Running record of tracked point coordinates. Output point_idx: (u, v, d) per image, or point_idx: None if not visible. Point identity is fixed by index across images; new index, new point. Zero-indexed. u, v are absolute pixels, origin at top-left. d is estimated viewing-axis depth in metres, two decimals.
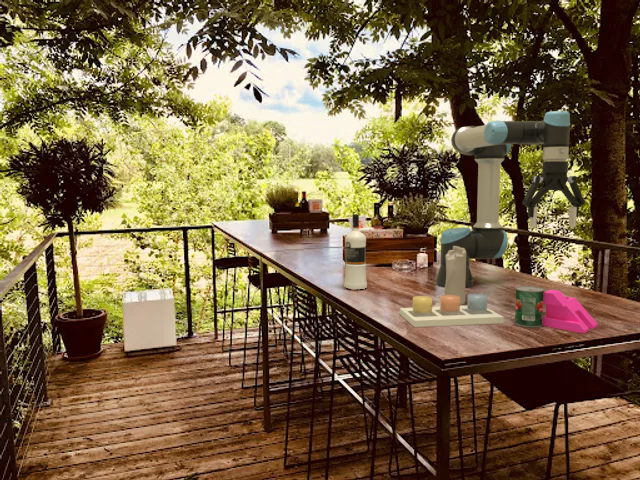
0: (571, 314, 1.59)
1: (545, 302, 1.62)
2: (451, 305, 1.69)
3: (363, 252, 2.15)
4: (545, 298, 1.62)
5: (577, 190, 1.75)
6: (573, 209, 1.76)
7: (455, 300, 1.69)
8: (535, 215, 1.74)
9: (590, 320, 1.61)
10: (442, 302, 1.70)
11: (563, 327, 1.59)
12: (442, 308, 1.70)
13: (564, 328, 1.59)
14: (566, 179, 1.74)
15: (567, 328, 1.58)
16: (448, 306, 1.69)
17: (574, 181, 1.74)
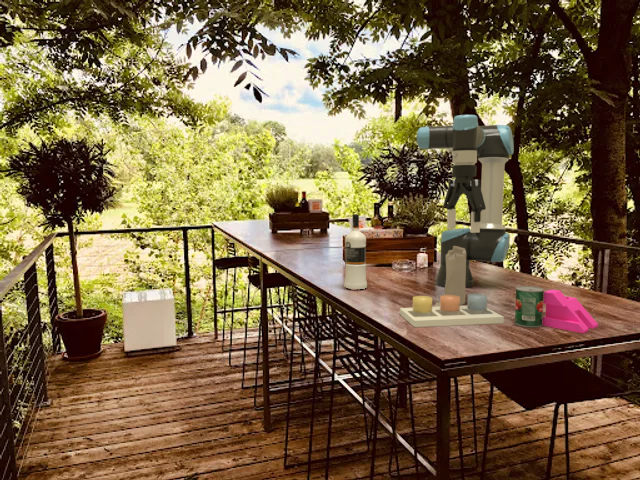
0: (571, 314, 1.59)
1: (545, 302, 1.62)
2: (451, 305, 1.69)
3: (363, 252, 2.15)
4: (545, 298, 1.62)
5: (473, 194, 1.68)
6: None
7: (455, 300, 1.69)
8: (447, 216, 1.82)
9: (590, 320, 1.61)
10: (442, 302, 1.70)
11: (563, 327, 1.59)
12: (442, 308, 1.70)
13: (564, 328, 1.59)
14: (467, 183, 1.71)
15: (567, 328, 1.58)
16: (448, 306, 1.69)
17: (471, 185, 1.69)
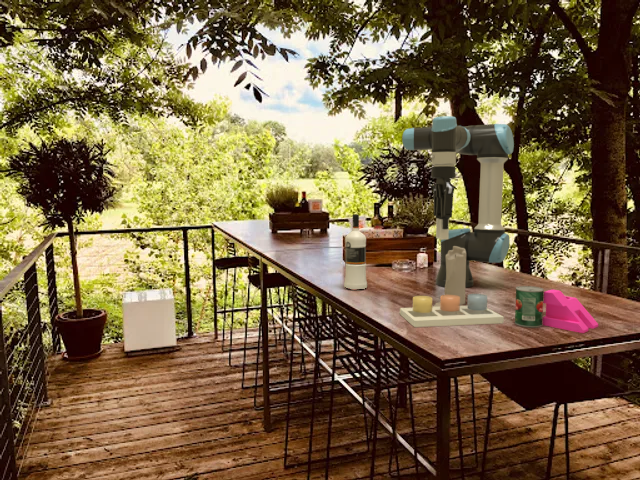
0: (571, 314, 1.59)
1: (545, 302, 1.63)
2: (451, 305, 1.69)
3: (363, 252, 2.15)
4: (545, 298, 1.63)
5: (444, 201, 1.71)
6: None
7: (455, 300, 1.69)
8: (436, 225, 1.78)
9: (590, 320, 1.61)
10: (442, 302, 1.70)
11: (562, 327, 1.59)
12: (442, 308, 1.70)
13: (563, 328, 1.59)
14: (443, 185, 1.72)
15: (566, 328, 1.58)
16: (448, 306, 1.69)
17: (445, 191, 1.70)
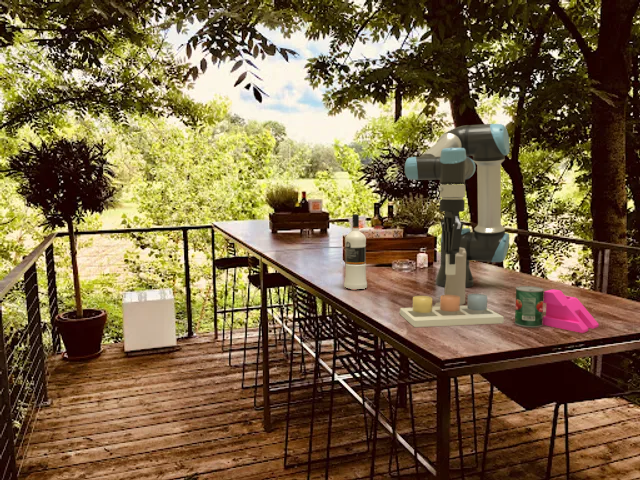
0: (570, 314, 1.59)
1: (545, 301, 1.63)
2: (451, 305, 1.69)
3: (363, 252, 2.15)
4: (545, 297, 1.63)
5: (452, 236, 1.65)
6: None
7: (455, 300, 1.69)
8: (445, 261, 1.70)
9: (591, 320, 1.61)
10: (442, 302, 1.70)
11: (562, 326, 1.60)
12: (442, 308, 1.70)
13: (563, 327, 1.59)
14: (452, 219, 1.65)
15: (566, 327, 1.59)
16: (448, 306, 1.69)
17: (453, 227, 1.64)
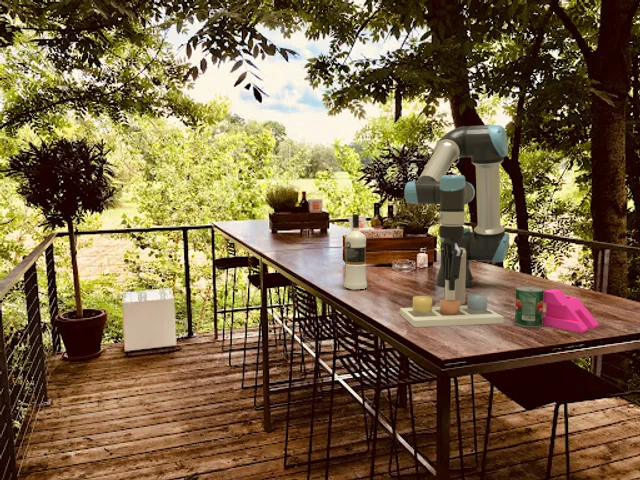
0: (570, 313, 1.59)
1: (545, 301, 1.63)
2: (451, 309, 1.69)
3: (363, 252, 2.15)
4: (545, 297, 1.63)
5: (451, 263, 1.66)
6: None
7: (455, 304, 1.69)
8: (445, 286, 1.71)
9: (591, 320, 1.61)
10: (442, 306, 1.70)
11: (562, 326, 1.60)
12: (442, 312, 1.70)
13: (563, 327, 1.60)
14: (451, 245, 1.66)
15: (566, 327, 1.59)
16: (448, 310, 1.69)
17: (453, 254, 1.65)
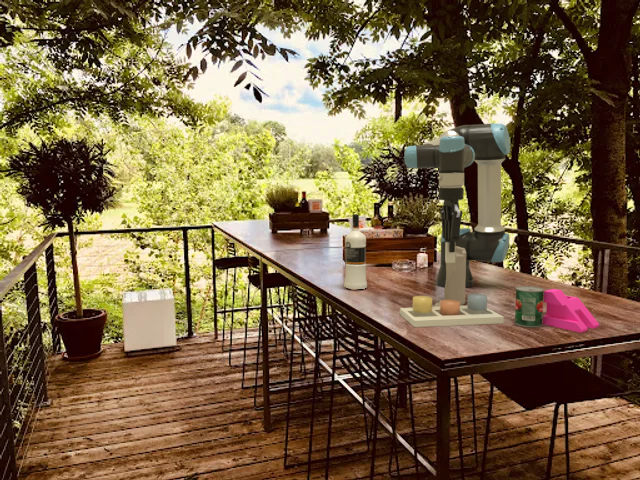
0: (570, 313, 1.60)
1: (545, 301, 1.64)
2: (451, 310, 1.69)
3: (363, 252, 2.15)
4: (545, 297, 1.64)
5: (451, 224, 1.66)
6: None
7: (455, 305, 1.69)
8: (445, 249, 1.71)
9: (591, 320, 1.61)
10: (442, 307, 1.70)
11: (562, 326, 1.60)
12: (442, 313, 1.71)
13: (563, 327, 1.60)
14: (451, 207, 1.66)
15: (565, 327, 1.59)
16: (448, 311, 1.69)
17: (453, 215, 1.65)
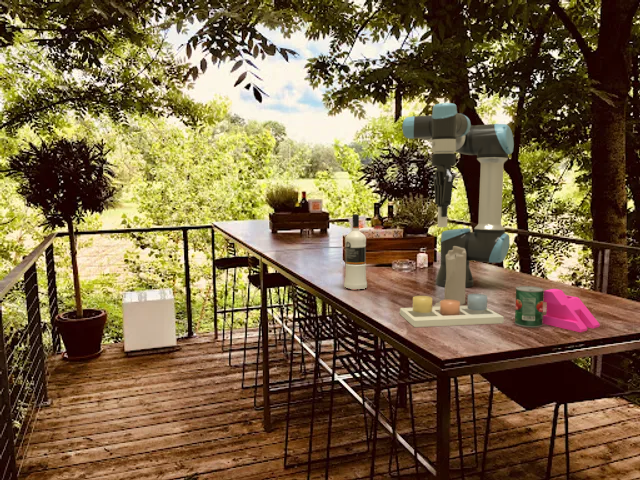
0: (570, 313, 1.60)
1: (545, 300, 1.64)
2: (451, 310, 1.69)
3: (363, 252, 2.15)
4: (545, 296, 1.64)
5: (443, 189, 1.71)
6: None
7: (455, 305, 1.69)
8: (438, 214, 1.77)
9: (591, 320, 1.61)
10: (442, 307, 1.70)
11: (561, 325, 1.60)
12: (442, 313, 1.71)
13: (562, 327, 1.60)
14: (443, 172, 1.71)
15: (565, 327, 1.60)
16: (448, 311, 1.69)
17: (445, 179, 1.70)
